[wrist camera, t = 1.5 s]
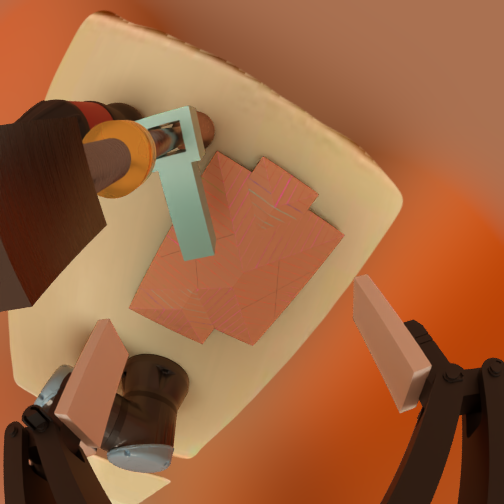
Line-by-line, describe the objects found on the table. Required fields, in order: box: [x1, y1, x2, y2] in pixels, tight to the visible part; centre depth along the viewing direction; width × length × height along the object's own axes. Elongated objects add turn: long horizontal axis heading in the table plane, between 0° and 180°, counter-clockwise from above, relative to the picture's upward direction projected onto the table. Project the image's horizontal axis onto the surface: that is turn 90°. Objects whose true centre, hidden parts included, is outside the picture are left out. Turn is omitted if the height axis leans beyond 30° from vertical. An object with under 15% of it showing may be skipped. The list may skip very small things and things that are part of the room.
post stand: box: [0, 111, 215, 312], centre depth 21 cm, size 6×6×40 cm
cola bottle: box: [15, 100, 142, 140], centre depth 25 cm, size 8×8×30 cm
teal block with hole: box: [134, 106, 216, 261], centre depth 27 cm, size 14×5×5 cm, turn 11°
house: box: [129, 151, 344, 346], centre depth 45 cm, size 23×33×8 cm
